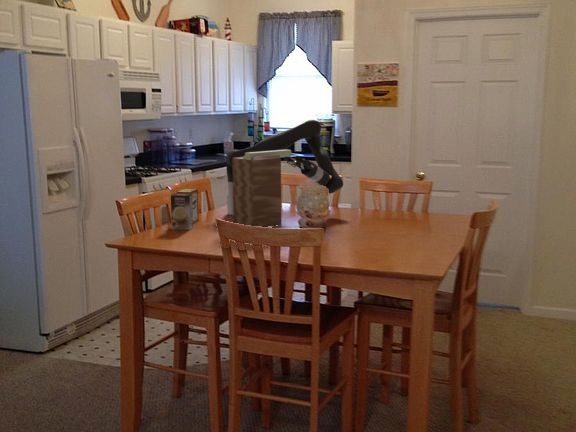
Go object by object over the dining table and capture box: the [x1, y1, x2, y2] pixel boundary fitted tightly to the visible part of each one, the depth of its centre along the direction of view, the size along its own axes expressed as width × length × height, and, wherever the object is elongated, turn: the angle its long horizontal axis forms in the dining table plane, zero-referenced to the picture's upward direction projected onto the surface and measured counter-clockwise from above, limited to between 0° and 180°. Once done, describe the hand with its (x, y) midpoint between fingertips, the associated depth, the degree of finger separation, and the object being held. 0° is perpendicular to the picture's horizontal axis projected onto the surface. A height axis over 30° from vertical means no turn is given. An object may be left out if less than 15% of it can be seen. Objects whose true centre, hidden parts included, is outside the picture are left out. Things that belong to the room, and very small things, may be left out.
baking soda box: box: [176, 188, 200, 224], centre depth 310 cm, size 10×6×16 cm
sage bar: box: [245, 149, 292, 160], centre depth 296 cm, size 4×24×3 cm, turn 130°
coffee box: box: [170, 192, 194, 231], centre depth 295 cm, size 9×6×16 cm
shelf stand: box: [232, 155, 282, 227], centre depth 299 cm, size 16×16×34 cm
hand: (290, 156), depth 304 cm, fingers open, 8 cm apart
